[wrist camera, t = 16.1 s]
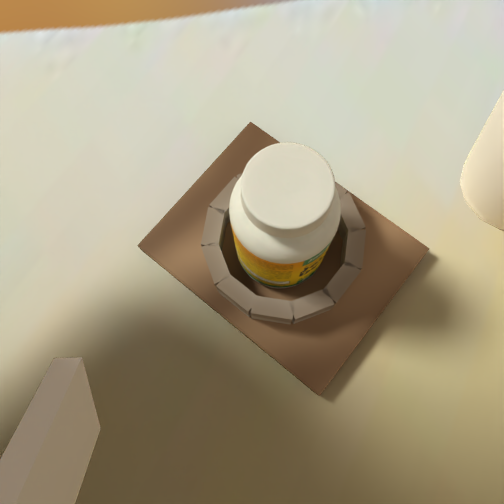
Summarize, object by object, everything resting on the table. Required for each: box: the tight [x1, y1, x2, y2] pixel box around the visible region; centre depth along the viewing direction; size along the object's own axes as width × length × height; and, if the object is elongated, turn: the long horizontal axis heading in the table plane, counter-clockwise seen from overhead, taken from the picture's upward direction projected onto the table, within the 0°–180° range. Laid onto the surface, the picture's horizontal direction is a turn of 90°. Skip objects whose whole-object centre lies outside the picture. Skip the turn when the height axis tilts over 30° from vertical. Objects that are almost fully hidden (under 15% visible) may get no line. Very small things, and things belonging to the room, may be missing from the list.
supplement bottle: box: [229, 142, 341, 288], centre depth 25 cm, size 5×5×10 cm
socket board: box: [138, 122, 429, 395], centre depth 29 cm, size 14×11×3 cm
